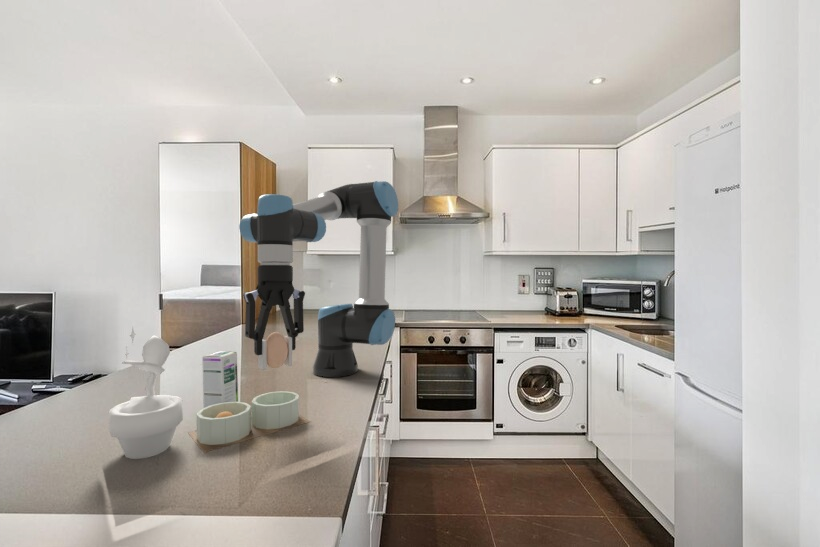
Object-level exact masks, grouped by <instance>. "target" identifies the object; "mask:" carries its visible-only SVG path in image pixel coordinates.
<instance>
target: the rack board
mask: <svg viewBox="0 0 820 547" xmlns="http://www.w3.org/2000/svg"><path fill="white" fill-rule="evenodd" d="M311 422H312V421H311V420H309V419H308V418H306V417H304V416H303V415H301V414H299V419H298V421H297V422H295V423H294V424H292V425H290V426H286V427H283V428H278V429H260V428H256V427H255V426H253V425H252V415H251V431H250V433H249V435H247V436H245V437H244V438H242V439H240V440H237V441H234V442H230V443H227V444H218V445H207V444H202V443H200V442H199V441H198V440H197V429H195V430H192V431H188V432H187V434H188V435H189V436H190V438H192V440H193V442H195V444H196V445H197V446H198V448H199V449H200V450H201V451H202V452H203V453H207V452H211V451H215V450H218V449H221V448H225V447H229V446H232V445H235V444H238V443H241V442H245V441H248V440H253V439H256V438H260V437H262V436H266V435H269V434H273V433H276V432H280V431H283V430H287V429H291V428H294V427H298V426H300V425H304V424H307V423H311Z"/></svg>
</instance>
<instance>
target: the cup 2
mask: <svg viewBox="0 0 820 547" xmlns="http://www.w3.org/2000/svg"><path fill="white" fill-rule="evenodd" d="M299 415H300V395H299V394H298V393H296V392H294V391H285V390H283V391H280V390H279V391H271V392H266V393H263V394H262V393H261V394H259V395H257V396H254V397H253V399H252V400H251V416H252V425H253V426H255V427H256V428H260V429H278V428H283V427H286V426H290V425H292V424H294V423H295V422H297V421H298V419H299Z"/></svg>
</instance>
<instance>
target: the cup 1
mask: <svg viewBox="0 0 820 547" xmlns="http://www.w3.org/2000/svg"><path fill="white" fill-rule="evenodd" d="M224 411H228V412H231V413H232V414H233V415H232V416H228V417H222V418H216V416H217V415H218V414H219V413H221V412H224ZM251 416H252V405H250V404H249V403H247V402H242V401H238V402H224V403H219V404H215V405H210V406H208V407H206V408H204V407H203V408H201V409H200V410H198V412H197V413H196V430H197V440H198V441H199V442H200V443H202V444H207V445H218V444H227V443H230V442H234V441H237V440H240V439H242V438H244V437H245V436H247V435H249V433H250V431H251Z"/></svg>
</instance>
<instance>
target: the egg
mask: <svg viewBox="0 0 820 547" xmlns="http://www.w3.org/2000/svg"><path fill="white" fill-rule="evenodd" d="M265 340H267V366H268V367H270V368H271V369H279V368H281V367H282V366H283V365H285V364H284V362H285V360H286V358H287V354H288V347H287V343H286V340H285V338H284V335H283V334H282V333H281V332H278V331H274V332H271V333H270V334H269V335H268V336H267V338H266V339H265Z"/></svg>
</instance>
